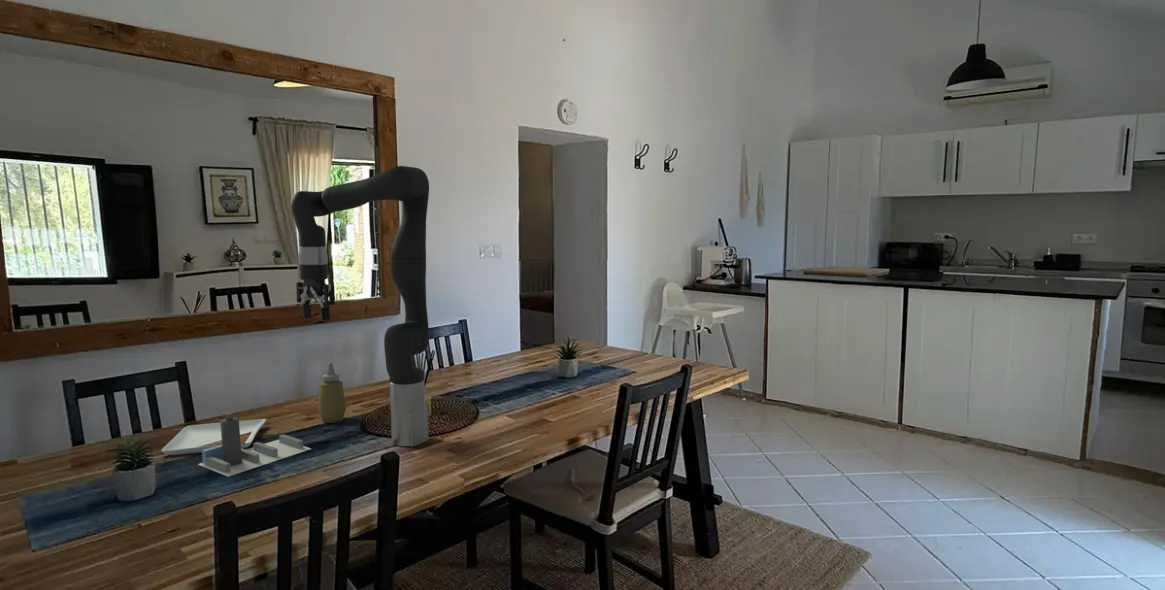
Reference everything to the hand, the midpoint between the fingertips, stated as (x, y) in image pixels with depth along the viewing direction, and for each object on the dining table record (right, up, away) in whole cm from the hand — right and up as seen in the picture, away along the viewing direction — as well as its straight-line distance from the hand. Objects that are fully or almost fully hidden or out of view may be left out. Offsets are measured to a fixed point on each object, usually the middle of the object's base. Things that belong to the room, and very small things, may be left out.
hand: (316, 319), depth 182 cm
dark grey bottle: (-11, -35, -24) cm, 44 cm away
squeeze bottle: (-1, -32, +14) cm, 35 cm away
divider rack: (-8, -36, -19) cm, 41 cm away
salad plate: (-25, -35, -6) cm, 43 cm away
